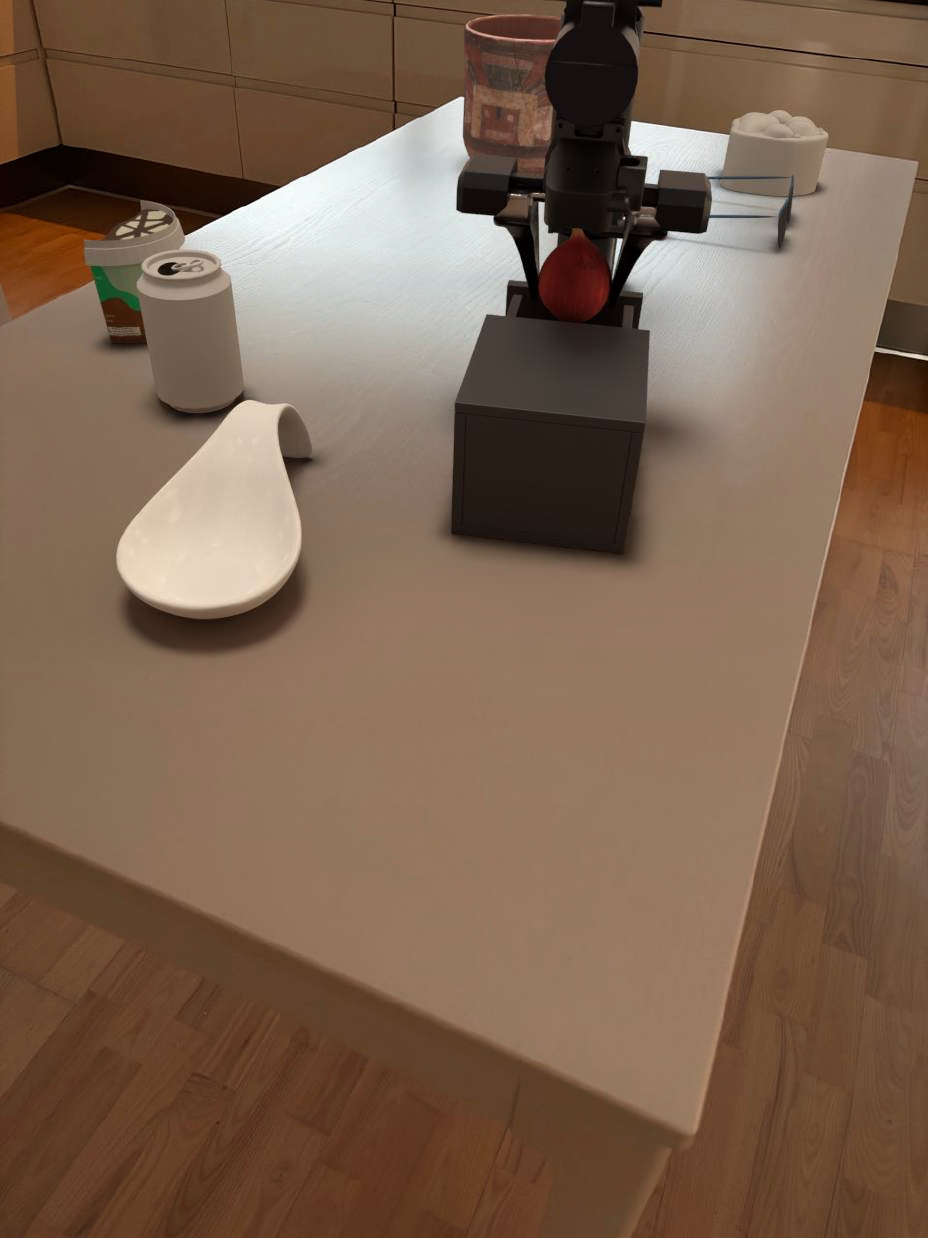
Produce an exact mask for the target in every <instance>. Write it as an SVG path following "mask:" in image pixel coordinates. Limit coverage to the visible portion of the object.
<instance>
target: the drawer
mask: <svg viewBox="0 0 928 1238" xmlns="http://www.w3.org/2000/svg"><path fill="white" fill-rule="evenodd" d="M505 298H506V299H505V314H504V316H510V317H520V318H530V319H540V320H551V321H559V320H558V319H557V318H556V317H555V316H554V315H553V314H552V313H551V312H550V311H549V309H548V308H547V307H546V306H545V305H544V303H543V301H542V299H541V297H540V294H539V288H538V297H537V301H532V300H531V296H530V293H529V289H528V285H527V281H526V280H525V281H524V280H514V279H508V281H507V285H506V297H505ZM609 298H610V295H609ZM609 298H608V300H607V301H606V303H605V304H604V306H603V307H602V309H601V310H600V312H598V313H597V314H596V315H595V316H593V317H592V318H590V319H588V320H586V321H584V322H582V323H581V324H591V325H602V326H612V327H622V328H632V329H640V328H639V327H640V320H641V315H642V306H643V300H644V292H641V291H630V290H622V291H621V293H620V295H619V297H618V300H617V302H616V304H615V306H614V308H613V309H612V308H608V306H609Z"/></svg>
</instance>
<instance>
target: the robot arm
mask: <svg viewBox="0 0 928 1238" xmlns="http://www.w3.org/2000/svg"><path fill="white" fill-rule="evenodd" d="M545 1H548V2H561V3H565V6H564V8H563V10H562V11H561V12H560V17H561V19H560V31H559V34H558V37H557V39H556V41H555V44H554V46H553V48H552V50H551V53H550V56H549V58H548V61H547V64H546V69H545V88H546V92H547V95H548V99H549V101H550V102H551V104H552V106H553V115H552V127H551V139H550V146H549V148H548V150H547V153H546V156H545V166H544V175H540V174H528V173H517V170H518V164H517V158H513V157H500V156H488V155H476V154H474V155H473V156H472V157H471V158H470V157H469V159H468V160H467V161H466V162H465V164H464V166H463V168H462V170H461V171H460V173H459V175H458V177H457V184H456V195H455V196H456V199H455V200H456V201H455V210H456V211H457V212H459V213H461V214H466V215H467V214H468V215H479V216H489V217H490V216H491V217H492V222H493V225H494V226H496V227H500V228H505V229H506V230H507V232H508V233H509V234H510V236H511V238H512V240H513V242H514V244H515V247H516V249H517V252H518V254H519V258H520V262H521V265H522V269H523V273H524V277H525V281H526V282H527V285H528V289H529V293H530V296H531V300H532V301H537V297H538V288H539V287H538V277H539V273H540V270H541V268H540V265H541V263H540V210H539V209H540V206H539V205H540V203H544V206H543V207H544V208H543V222H544V224H545V225H546V226H547V234H557V241H556V247H557V246H559V245H560V244H562V243H563V242H565V241H567V240H569V239H570V237H571V234H572V229H573V228H577V229H582V231H583V233H584V235H585V236H586V237H587V238H588V239H589V240H590V241H591V242H592V243H594V244H595V245H596V246H597V247H598V248H599V250H600V251H601V252H602V254H603V255H604V256H605V258H606V260H607V261H608V264H609V266H610V269H611V274H612V286H611V291H610V298H609V306H608V308H612V309H613V308H614V306H615V304H616V302H617V300H618V297H619V295H620V293H621V291H623V289H624V287H625V285H626V283H627V281H628V279H629V277H630V275H631V273H632V271H633V269H634V266H635V265H636V263H637V262H638V260H639V259H640V258H641V256H642V254H643V253H644V252H645V250H646V249H647V248H648V246H649V245H651V243H652V242H654V241H655V242H656V241H657V242H662V241H665V240H667V238H668V235H669V232H671V233H683V234H684V233H685V234H694V235H695V234H696V235H700V234H704V233H707V232H708V227H709V222H710V218H709V217H710V215H711V211H712V204H713V203H712V202H713V193H712V192H713V191H712V182H711V181H710V179H708V178H707V177H708V176H707V174H706V173H705V172H698V171H697V172H696V171H683V170H673V169H672V170H671V169H659V172H658V178H657V183H649V182H647V183H646V177H647V169H648V162H649V157H648V156H647V155H635V154H632V152H631V149H630V147H629V145H630V138H631V137H630V136H631V129H632V123H633V122H632V120H633V114H634V105H635V98H636V91H637V85H638V81H639V72H640V62H641V52H642V45H643V37H644V30H645V22H646V17H645V15H643V12H644V11H643V8H655V9H662V7H663V1H664V0H544V2H545ZM619 239H620V240H622V241H621V243H620V244H621V245H620V248H619V252H618V256H617V260H616V253H617V252H616V250H617V245H618V240H619ZM615 260H616V264H615ZM614 267H615V268H614Z"/></svg>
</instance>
